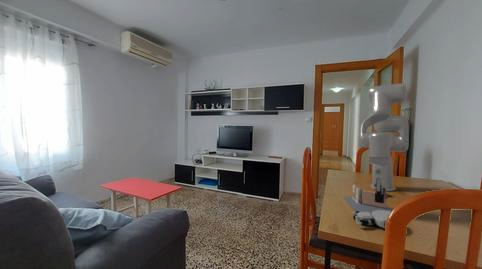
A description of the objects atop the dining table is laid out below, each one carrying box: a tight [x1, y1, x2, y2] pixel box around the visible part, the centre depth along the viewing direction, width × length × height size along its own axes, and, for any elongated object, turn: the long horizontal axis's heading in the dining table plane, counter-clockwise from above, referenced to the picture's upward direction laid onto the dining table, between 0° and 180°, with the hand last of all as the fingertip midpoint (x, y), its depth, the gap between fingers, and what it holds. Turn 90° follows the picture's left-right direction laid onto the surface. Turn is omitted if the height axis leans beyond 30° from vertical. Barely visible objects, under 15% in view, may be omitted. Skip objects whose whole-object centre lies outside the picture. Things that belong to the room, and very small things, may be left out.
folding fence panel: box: [362, 189, 387, 208], centre depth 94 cm, size 9×1×6 cm, turn 49°
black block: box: [383, 188, 390, 200], centre depth 109 cm, size 12×7×5 cm, turn 138°
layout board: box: [343, 196, 393, 214], centre depth 97 cm, size 19×16×1 cm
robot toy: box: [350, 210, 391, 229], centre depth 78 cm, size 12×4×15 cm
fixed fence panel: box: [352, 184, 363, 204], centre depth 102 cm, size 9×2×7 cm, turn 169°
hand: (379, 202), depth 91 cm, fingers closed
